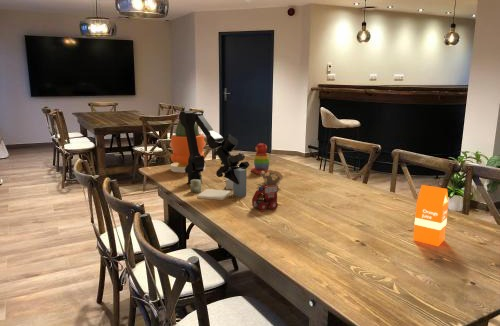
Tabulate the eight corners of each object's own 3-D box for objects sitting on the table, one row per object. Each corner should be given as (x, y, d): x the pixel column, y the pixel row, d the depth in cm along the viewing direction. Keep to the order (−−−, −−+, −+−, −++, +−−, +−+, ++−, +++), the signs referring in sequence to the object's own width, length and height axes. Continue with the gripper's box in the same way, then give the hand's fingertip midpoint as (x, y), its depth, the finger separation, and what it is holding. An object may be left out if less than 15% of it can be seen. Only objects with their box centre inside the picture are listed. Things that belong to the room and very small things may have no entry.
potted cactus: (168, 167, 264) (167, 112, 257) (203, 165, 271) (202, 111, 264) (173, 175, 244) (171, 115, 237) (210, 172, 251) (209, 114, 244)
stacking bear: (249, 171, 257) (249, 142, 253) (264, 169, 261) (264, 141, 257) (257, 174, 247) (257, 145, 243) (272, 173, 251) (273, 144, 247)
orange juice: (419, 234, 157) (424, 182, 152) (444, 240, 151) (450, 186, 147) (412, 240, 151) (417, 186, 147) (438, 246, 145) (444, 191, 141)
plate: (197, 197, 200) (197, 195, 199) (206, 190, 212) (206, 188, 212) (223, 200, 196) (223, 198, 196) (231, 192, 209) (231, 190, 209)
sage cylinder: (189, 193, 208) (189, 181, 207) (192, 190, 213) (192, 179, 211) (198, 193, 207) (198, 182, 205) (202, 191, 211) (202, 179, 210)
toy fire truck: (248, 207, 186) (249, 185, 184) (273, 204, 191) (274, 182, 189) (255, 212, 180) (256, 189, 177) (280, 208, 185) (281, 186, 183)
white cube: (225, 188, 217) (225, 179, 216) (228, 186, 221) (228, 177, 220) (234, 189, 216) (235, 180, 214) (237, 187, 220) (237, 177, 219)
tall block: (233, 195, 204) (233, 169, 201) (239, 193, 207) (239, 168, 205) (239, 197, 201) (240, 171, 198) (246, 195, 204) (246, 169, 202)
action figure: (274, 175, 233) (287, 180, 219) (261, 189, 230) (273, 195, 217) (263, 162, 229) (276, 167, 215) (250, 177, 227) (262, 182, 213)
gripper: (220, 150, 195) (237, 176, 190) (247, 145, 209) (263, 170, 204) (209, 163, 202) (225, 190, 197) (235, 158, 216) (251, 183, 211)
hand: (241, 183), depth 202 cm, fingers closed on tall block, 4 cm apart
